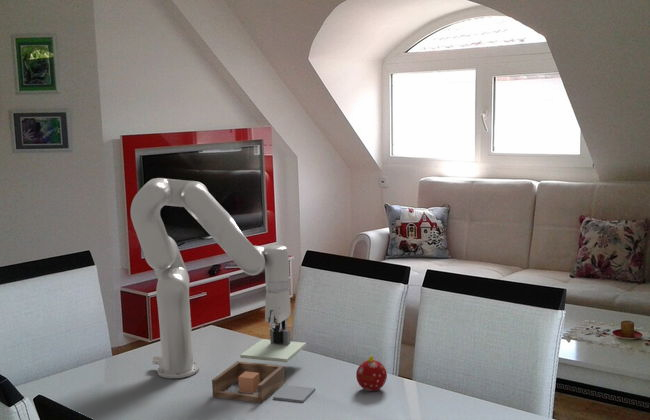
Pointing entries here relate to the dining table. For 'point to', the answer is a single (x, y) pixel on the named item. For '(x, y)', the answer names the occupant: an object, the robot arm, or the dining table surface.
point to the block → (249, 382)
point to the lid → (274, 349)
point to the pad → (294, 393)
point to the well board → (268, 373)
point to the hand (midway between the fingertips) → (280, 341)
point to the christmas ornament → (371, 375)
